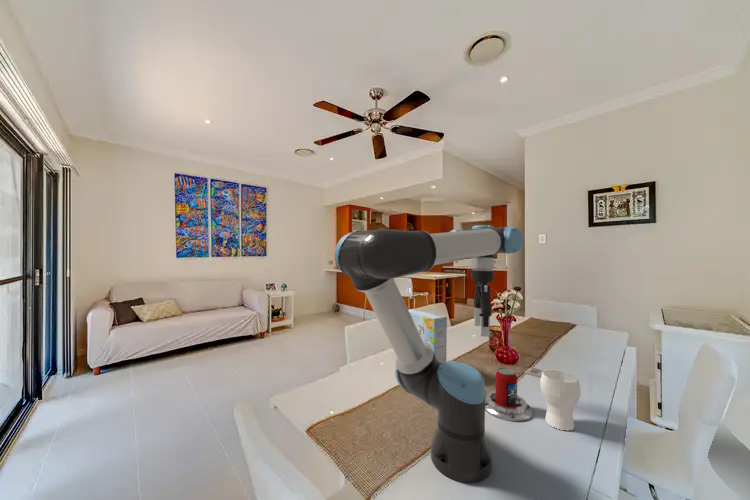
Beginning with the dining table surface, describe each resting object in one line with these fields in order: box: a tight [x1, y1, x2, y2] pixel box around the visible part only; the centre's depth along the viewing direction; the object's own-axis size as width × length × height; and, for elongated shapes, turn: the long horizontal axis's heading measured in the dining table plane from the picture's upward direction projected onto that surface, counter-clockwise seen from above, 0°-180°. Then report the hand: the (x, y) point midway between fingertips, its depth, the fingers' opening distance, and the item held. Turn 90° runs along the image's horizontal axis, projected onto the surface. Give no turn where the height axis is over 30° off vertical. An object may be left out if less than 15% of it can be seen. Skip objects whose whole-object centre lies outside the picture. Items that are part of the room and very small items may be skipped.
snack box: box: [408, 308, 448, 363], centre depth 131 cm, size 22×9×26 cm, turn 36°
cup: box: [539, 369, 581, 432], centre depth 91 cm, size 11×11×15 cm
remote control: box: [523, 367, 545, 379], centre depth 127 cm, size 7×16×3 cm, turn 46°
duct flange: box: [485, 390, 534, 423], centre depth 100 cm, size 16×16×3 cm
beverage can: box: [495, 367, 518, 408], centre depth 100 cm, size 7×7×12 cm
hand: (481, 330), depth 102 cm, fingers open, 13 cm apart
